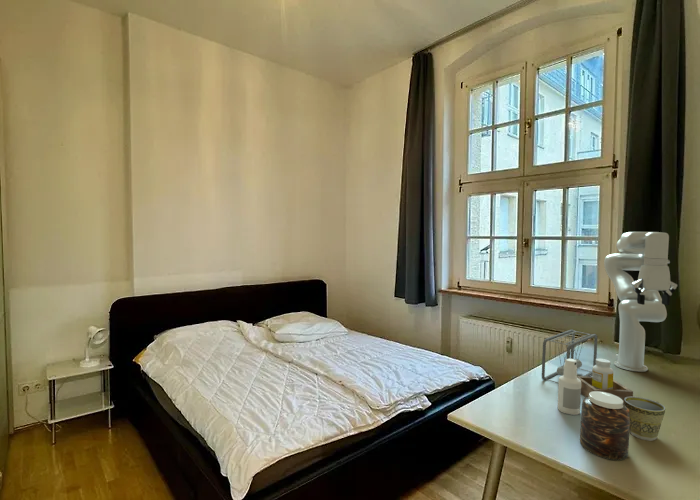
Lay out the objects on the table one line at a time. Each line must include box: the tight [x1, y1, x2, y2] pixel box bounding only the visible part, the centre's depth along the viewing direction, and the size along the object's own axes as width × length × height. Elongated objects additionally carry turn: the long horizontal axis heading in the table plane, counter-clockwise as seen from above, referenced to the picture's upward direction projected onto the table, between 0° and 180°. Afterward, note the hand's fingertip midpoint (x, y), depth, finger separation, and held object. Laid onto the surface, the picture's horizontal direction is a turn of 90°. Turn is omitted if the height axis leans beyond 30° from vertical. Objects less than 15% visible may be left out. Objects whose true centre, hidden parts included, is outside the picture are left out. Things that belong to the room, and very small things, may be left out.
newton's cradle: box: [541, 329, 598, 385], centre depth 163 cm, size 30×10×18 cm, turn 128°
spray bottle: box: [557, 357, 582, 416], centre depth 132 cm, size 7×7×18 cm
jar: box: [579, 391, 630, 461], centre depth 109 cm, size 12×12×15 cm
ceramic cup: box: [624, 395, 666, 442], centre depth 117 cm, size 13×10×10 cm
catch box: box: [577, 375, 634, 406], centre depth 144 cm, size 13×13×5 cm
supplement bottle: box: [591, 358, 614, 390], centre depth 144 cm, size 7×7×13 cm
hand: (653, 304), depth 155 cm, fingers open, 9 cm apart
